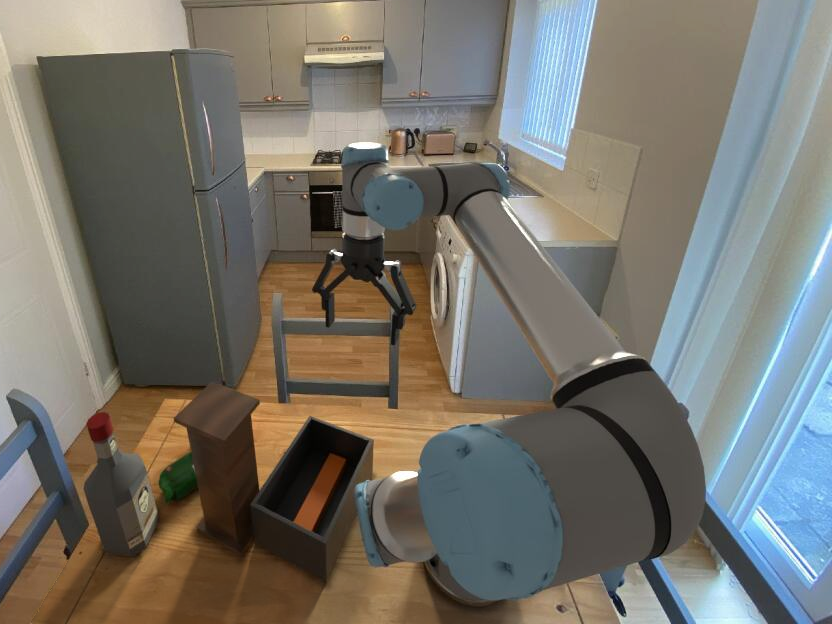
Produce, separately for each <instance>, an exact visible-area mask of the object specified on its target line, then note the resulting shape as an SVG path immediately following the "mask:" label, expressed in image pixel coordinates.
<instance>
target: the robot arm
mask: <svg viewBox="0 0 832 624" xmlns="http://www.w3.org/2000/svg"><path fill="white" fill-rule="evenodd" d="M341 160H342V161H341V165H340V168H341V182H342V183H341V184H342V185H341V187H342V188H341V189H342V190H341V191H342V197H341V199H342V203H341V204H342V217H341V220H342V221H341V230H342V232H343V233H342V234H341V237H342V238H341V240H342V241H341V244H342V245H341V247H342V248H341V250H342V253H341V252H338V250H337V249H336V248H332V249H331V250H330V251H329V252H327V253H326V255H325V264H324V266H323V267H322V269H321V271H320V273H319V275H318V277H317V278H316V280H315V282H314V283H313V286H312V288H311V291H312V293H314V294H318V295H320V297H321V303H320V304H321V310H322V311H325V313H324V314H325V315H324V316H325V328H330V327H331V326H332V325H333V324H334V322H335V321H336V320H335V317H336V316H335V315H336V313H335V312H336V311H335V308H336V307H335V302H336V301H335V293H334V292H333V290H335V289H336V288H337V287H338V286H339V285H340V284H341V283H342V282H343V281H344V280H346V279H347V278H348V277H349V276H350V278H352V280H354V281H362V282H365V283H370V282H371V283H372V285H373V286H374V287H375V288H377V289H378V291H379V292H380V294H381V295H382V296H383V297H384V299H385V300H386V301H387V303H388V304H389V305H390V307H391V308H392V310H393V311H394V312H393V313H392V315H391V332H390V345H391V346H394V347H395V346H396V344H397V342H398V340H399V338H400V330H403V328H404V327H405V325H406V316H407V315H408V316H413V315H414V313H415V311H416V309H417V303H416V301H415V299H414V297H413V294H412V292H411V289H410V287H409V285H408V283H407V281H406V278H405V276H404V274H403V268H402V261H401V260H399V259H396V260H394V261H386V260H385V238H386V236H385V230H386V229H387V230H390V231H400V230H404V229H406V228H407V227H409V226H410V225H412V224H414V223H416V221H417V220H418V219H420V218H421V219H422V218H433V217H443V216H449V217H451V219H452V221H453V223H454V224H455V226H456V227H457V229H458V230H459V231H460V233H461V235H462V237H463V238H464V240H465V242H466V243H467V245H468V247H469V248H470V250H471V252H472V253H473V254H474V256H475V258H476V259H477V261H478V263H479V264H480V266H481V267H482V270H483V271H484V273H485V274H486V276H487V277H488V278H489V281H490V282H491V284H492V285H493V287H494V289H495V291H496V293H498V295H499V297H500V299H501V300H502V302H503V304H504V305H505V307H506V308H507V310H508V312H509V314H510V315H511V317H512V319H513V321H515V323H516V325H517V326H518V328H519V330H520V332H521V333H522V334H523V336H524V338H525V340H526V341H527V343H528V345H529V347H530V348H531V350H532V351H533V353H534V354H535V356H536V357H537V360H538V361H539V362H540V364H541V366H542V367H543V369H544V371H545V372H546V374H547V376H548V377H549V379H550V380H551V382H552V383H553V386H552V388H551V393H550V400H551V401H552V403H553V405H554V406H555V408H553V409H547V410H542V411H538V412H537V411H535V412H532V413H526V414H521V415H515V416H512V417H511V416H510V417H506V418H500V419H495V420H489V421H484V422H479V423H463V424H459V425H456V426H453V427H450V428H448V429H447V430H446V431H442V432H439V433H437V434H435V435H433V436H432V437H431V438H430V439H428V440H427V442H426V443H425V445H424V446H423V448H422V450H421V452H420V455H419V459H418V464H419V469H418V470H415V471H412V470H400V471H396V472H393V473H391V474H389V475H388V476H384V477H381V478H377V479H372V480H366V481H365V482H363V483H360V484H357V485H356V486H355V488H354V497H355V504H356V509H357V513H356V515H357V519H358V525H359V531H360V535H361V538H362V544H363V547H364V548H363V549H364V552H365V556H366V560H367V562H368V564H369V566H371V567H372V568H375V569H376V568H382V567H383V568H385V569H386V568H388V567H389V566H390V565H394V564H395V565H396V564H398V563H403V562H405V563H406V562H407V563H414V564H415V563H417V564H419V563H423V564H424V568H425V570H426V573H427V574H428V576H429V577H430V579H431V581H432V582H433V583H434V585H435V586H436V587H437V588H438V589H439V590H440V591H441V592H442V593H443V594H444V595H445V596H446V597H448V598H449V599H451V600H453V601H455V602H457V603H459V604H460V605H464V606H468V607H473V608H482V607H483V608H484V607H487V606H491V605H492V604H494V603H496V602H497V601H502V600H509V601H511V600H513V601H515V600H517V601H518V600H524V599H529V598H530V597H533V596H535V595H536V594H539V593H541V592H543V591H546V590H549V589H552V588H555V587H558V586H562V585H565V584H569V583H572V582H576V581H579V580H583V579H586V578H589V577H592V576H597V575H600V574H603V573H606V572H611V571H612V570H616V569H619V568H624V567H626V566H630V565H634V564H637V563H640V562H643V561H646V560H654V559H657V558H661V557H664V556H668V555H671V554H672V553H674V552H675V551H677V550H678V549H680V548H681V547H682V546H684V545H685V544H686V543H687V542H688V541H689V540H690V539H691V537H693V535H694V534H695V533H696V531H697V529H698V528H699V525H700V523H701V520H702V518H703V515H704V511H705V505H706V500H707V499H706V498H707V497H706V495H707V486H706V485H707V484H706V475H705V474H706V473H705V467H704V462H703V459H702V455H701V451H700V447H699V444H698V442H697V439H696V437H695V434H694V431H693V429H692V427H691V425H690V423H689V420H688V419H687V417H686V414H685V413H684V411H683V409H682V407H681V406H680V403H679V402H678V400H677V399H676V397H675V395H674V394H673V392H672V391H671V390H670V388H669V387H668V385H667V384H666V383H665V381H664V380H663V379H662V378H661V375H660V374H658V372H657V371H656V370H655V369H654V368H653V366H652V365H651V364H650V363H649V362H648V360H647V359H646V358H645V357H644V356H642V355H639V354H635V353H630V352H627V351H625V349H624V348H623V347H622V346H621V344H620V342H618V340H617V339H616V338H615V337H614V335H613V334H612V332H610V330H609V329H608V327H607V326H606V325H605V323H604V322H603V321H602V320H601V319H600V317H599V316H598V315H597V314H596V313H595V311H594V310H593V308H592V307H591V306H590V305H589V304H588V302H587V301H586V299H585V298H584V297H583V295H582V294H581V293H580V292H579V290H578V289H577V288H576V287H575V285H574V284H573V282H571V281H570V279H569V278H568V277H567V276H566V274H565V273H564V272H563V270H562V269H561V267H560V266H559V264H557V262H556V261H555V260H554V258H553V257H552V256H551V255H550V253H549V252H548V251H547V250H546V249H545V247H544V245H542V243H541V242H540V241H539V239H537V237H536V235H534V233H533V232H532V231H531V229H530V228H529V227H528V226H527V224H526V223H525V222H524V221H523V219H522V218H521V217H520V216H519V214H518V213H517V212H516V210H515V209H514V208H513V207H512V205H511V204H510V203H509V201H508V200H509V197H510V192H511V183H510V180H509V179H507V178H508V173H507V171H506V170H505V168H503V167H502V166H501V165H500V164H498V163H495V162H478V161H473V162H469V163H457V164H455V163H454V164H446V165H445V164H444V165H435V166H434V165H433V166H416V167H402V168H392V167H390V166H389V163H390V159H389V150H388V147H387V146H386V145H385V144H382V143H379V142H368V141H367V142H366V141H365V142H353V143H349V144H347V145H346V146H344V148H343V150H342V158H341ZM338 262H340V263H341V264H342V266H343V268H344V269H343V271H342V272H340V274H339V275H337V277H335V278H334V279H333V280H332V281H330V283H329V284H328V285H327V286H325V283H326V282H327V279H328V277H329V276H330V274H331V273H332V270H333V269H334V267H335V265H336V264H337V263H338ZM384 270H386V271H387V274H388V275H389V276H390V277H391V281H392V283H393V285H392V284H391V283H390V281H389V280H388V279H387V275H386V274H385V272H384ZM393 286H394V287H393Z"/></svg>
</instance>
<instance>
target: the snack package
mask: <svg viewBox="0 0 832 624" xmlns="http://www.w3.org/2000/svg"><path fill="white" fill-rule="evenodd" d="M158 488H159V489H160V490H161V492H162V493H163V496H164V503H165V504H167V503H170V502H172V501H179V500H181V499H183V498H184V497H186V496H187V495H188V494H190V493H191V492H192V491H195V489H198V484H197V479H196V474H195V469H194V464H193V459H192V454H191V451H189V452H188V453H186V454H184V455H182V456H181V457H179V458H178V459H176V460H175V461H173V462H172V463H170V464H168V465H167V466H166V467H165V468H163V470H162V471H161V472H160V475H159V478H158Z"/></svg>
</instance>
